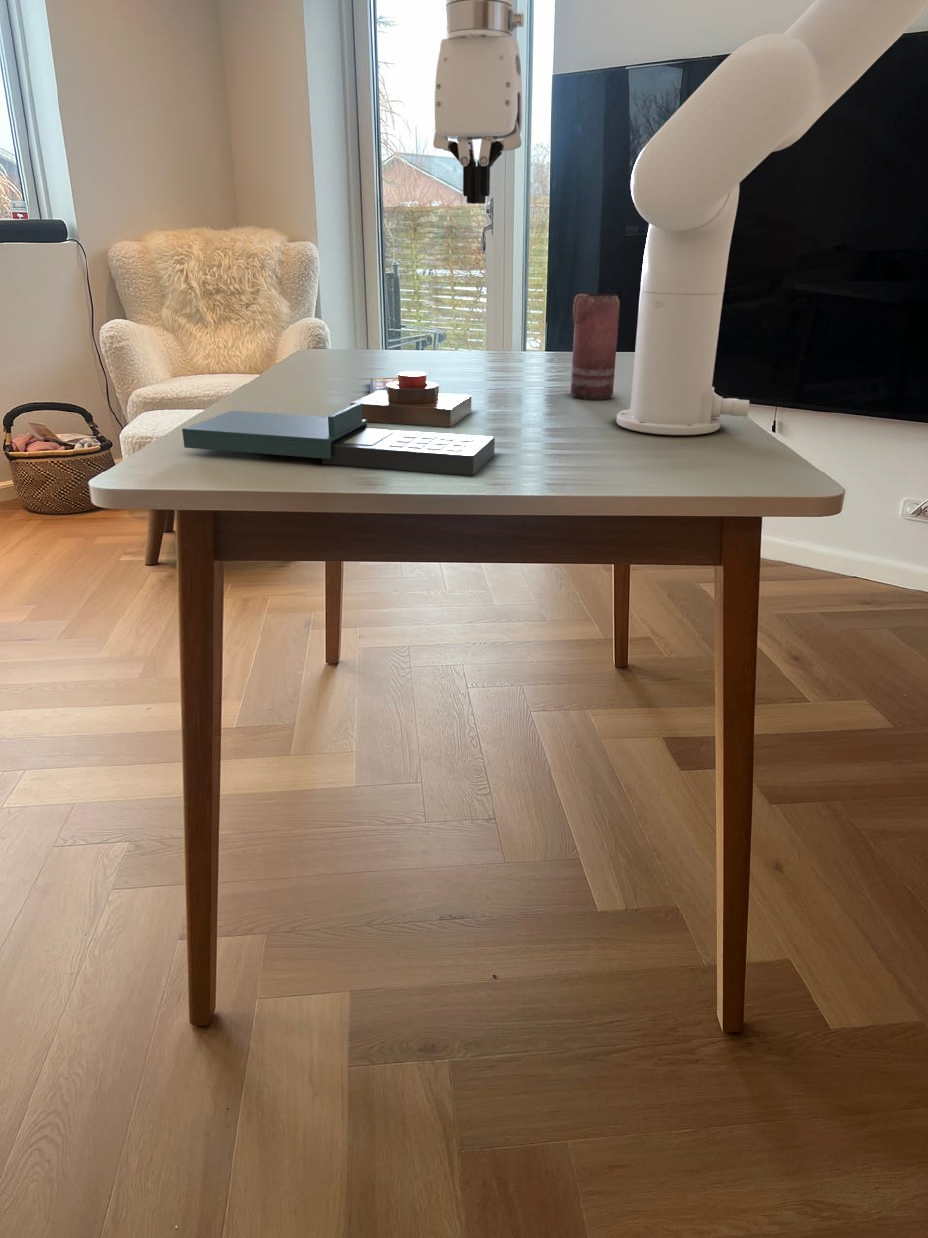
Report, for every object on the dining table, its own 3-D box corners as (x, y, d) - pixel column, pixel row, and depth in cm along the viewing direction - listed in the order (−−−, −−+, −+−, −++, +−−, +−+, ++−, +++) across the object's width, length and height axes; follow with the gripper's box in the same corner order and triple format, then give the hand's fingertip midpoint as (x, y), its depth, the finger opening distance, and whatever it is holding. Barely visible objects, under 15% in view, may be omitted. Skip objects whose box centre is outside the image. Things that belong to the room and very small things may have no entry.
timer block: (471, 412, 115) (471, 381, 114) (450, 427, 106) (450, 393, 105) (378, 406, 118) (377, 376, 117) (351, 420, 109) (349, 388, 108)
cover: (367, 437, 97) (366, 400, 95) (330, 458, 88) (328, 419, 86) (233, 427, 101) (230, 392, 99) (184, 447, 92) (179, 409, 90)
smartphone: (370, 402, 121) (370, 384, 135) (423, 400, 122) (417, 382, 135) (370, 395, 121) (369, 378, 134) (423, 393, 121) (417, 376, 135)
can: (565, 393, 129) (570, 292, 124) (607, 392, 130) (614, 292, 124) (573, 400, 124) (579, 295, 118) (616, 399, 124) (625, 295, 119)
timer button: (430, 386, 112) (429, 372, 111) (421, 390, 109) (421, 376, 108) (403, 384, 113) (403, 370, 112) (394, 389, 110) (393, 375, 109)
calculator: (494, 455, 93) (494, 435, 92) (473, 476, 85) (473, 455, 85) (354, 445, 97) (354, 426, 96) (322, 464, 89) (320, 443, 88)
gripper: (548, 30, 102) (541, 204, 109) (426, 35, 105) (427, 203, 113) (536, 16, 95) (529, 202, 103) (406, 22, 99) (409, 202, 106)
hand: (476, 202), depth 108 cm, fingers closed
